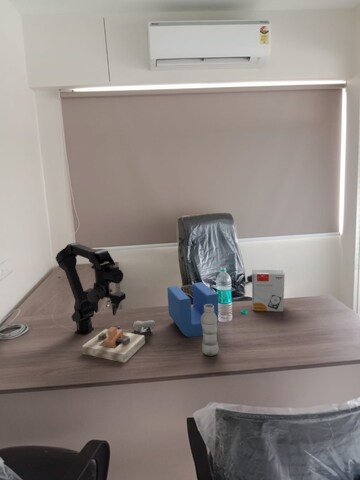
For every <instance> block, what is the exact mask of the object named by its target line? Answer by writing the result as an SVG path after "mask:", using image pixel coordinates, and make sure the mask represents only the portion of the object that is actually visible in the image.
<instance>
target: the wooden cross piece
mask: <svg viewBox="0 0 360 480" xmlns="http://www.w3.org/2000/svg"><path fill="white" fill-rule="evenodd" d="M107 332H108V336H107V338H106V339H105V340H104V344H105V347H108V348H114V349H115V348H116V347H117V343H116V342H117V341H116V340H117V339H118V338H120V339H124V336H123V332H124V331H123V329H122V330H118V328H117V327H116V326H110V328H109V330H108V331H107Z"/></svg>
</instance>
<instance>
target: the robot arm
mask: <svg viewBox="0 0 360 480" xmlns="http://www.w3.org/2000/svg"><path fill="white" fill-rule="evenodd" d="M78 256H79V257H82V258H85V259H87V260H88V262H89V263H90V264H92V266H90V268H91V269H92V270H93V271H94V281H95V282H94V283H93V285H92V286H93V288H91V287H90V288H87V289H86V290H84V288H83V285H82V282H81V280H80V279H81V278H80V276H79V273H78V271H77V268H76V267H77V262H78V259H77V257H78ZM55 261H56V262H57V264H58V266H59V268H60V269H61V270H63V271H64V273H65V276H66V278H67V280H68V284H69V287H70V289H71V293H72V295H73V298H74V305H73V309H74V312H73V313H72V314H71V320H72V322H75V324H76V330H74V333H75V334H80V335H85V336H86V335H87V334H89V333H90V332H92V331H93V330H95V327H93V322H92V319H91V318H93V317H95V313H98V312H99V301H100V300H103V299H104V298H105V299H106V298H107V299H109V300H110V302H109V303H110V305H111V308H112V315H113V316H116V315H117V311H118V309H119V307H120V304H121V302H122V301H124V300H126V293H125V292H124V291H119V290H118V291H115V292H114V293H112V292H113V289H112V288H111V287H110V284H111V283H113V284H116V285H118V284H120V283H121V282H122V281H123V279H124V273H123V271H122V270H121V269H120V268H119V266H118V265H116V263H115V260H114V259H113V258H112V256H111V254H110V253H109V251H108V249H105V248H96V249H95V248H92V247H89V246H85V245H83V244H80V243H78V242H72V243H68V244H67V245H66V246H65V247H64V248H62V249H61V250H60V251H59V252H57V254H56V256H55Z"/></svg>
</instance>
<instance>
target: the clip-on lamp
mask: <svg viewBox="0 0 360 480" xmlns="http://www.w3.org/2000/svg"><path fill="white" fill-rule="evenodd" d="M154 327H156V323H155V320H154V319H153V320H152V319H150V320H145V321H141V320H136V321H134V323H133V325H132V330H131V331H130V330H127V329H121V326H120V325H119V326H118V327H117V329H118V330H122V331H123V332H127V333H133V334H138V335H144V336H145V338H148V337H151V336H153V333H154V331H153V330H152V329H153V328H154Z"/></svg>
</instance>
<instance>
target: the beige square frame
mask: <svg viewBox="0 0 360 480" xmlns="http://www.w3.org/2000/svg"><path fill="white" fill-rule="evenodd" d="M109 329H110V328H109ZM109 329H108V328H105V329H103V330H102V331H101V332H100V333H98V334H97V335H95V336H94V337H92V339H90V340H89V341H87V342H86V343H84V344H83V345H82V346H81V347H82V354H83V355H87V356H91V357H97V358H101V359H106V360H111V361H116V362H118V363H119V362H120V363H126V362H127V361H128V360H130V358H131V357H132V356H133V355H135V354H136V352H138V351H139V350H140V349H141V348H142V347H143V346H144V345H145V344H146V337H145V336H144V335H138V334H134V333H133V332H127V331H123V336H124V339H120V338H118V339H117V340H116V341H115V342H117V343H120V344H118V345H116V348H115V349H114V348H108V347H105V344H104V340H105V339H106V338H107V336H108V332H107V331H108V330H109Z"/></svg>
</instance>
